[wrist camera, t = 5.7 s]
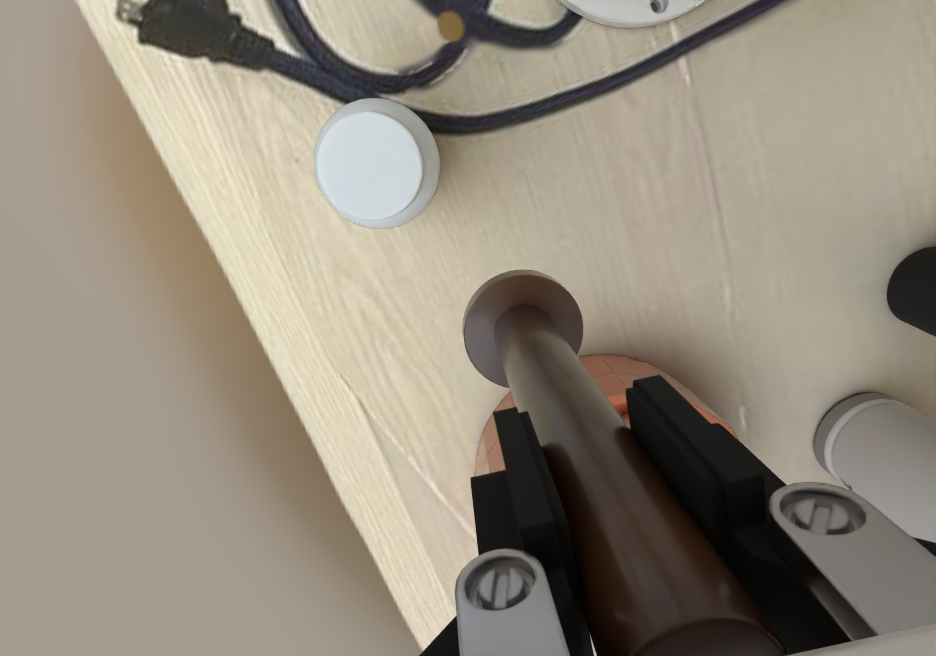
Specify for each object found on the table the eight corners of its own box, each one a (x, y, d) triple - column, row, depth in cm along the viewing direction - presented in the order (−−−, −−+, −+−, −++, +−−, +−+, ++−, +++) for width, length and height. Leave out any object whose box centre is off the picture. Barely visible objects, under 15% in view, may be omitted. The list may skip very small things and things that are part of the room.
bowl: (452, 385, 34) (456, 431, 28) (694, 330, 33) (748, 364, 28) (501, 581, 38) (513, 656, 32) (714, 533, 38) (764, 599, 32)
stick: (451, 283, 20) (490, 587, 6) (567, 257, 20) (886, 498, 6) (476, 390, 22) (556, 847, 7) (585, 365, 22) (880, 776, 7)
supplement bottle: (360, 93, 29) (326, 60, 19) (454, 138, 29) (465, 127, 20) (325, 190, 30) (277, 203, 21) (416, 230, 31) (409, 259, 22)
